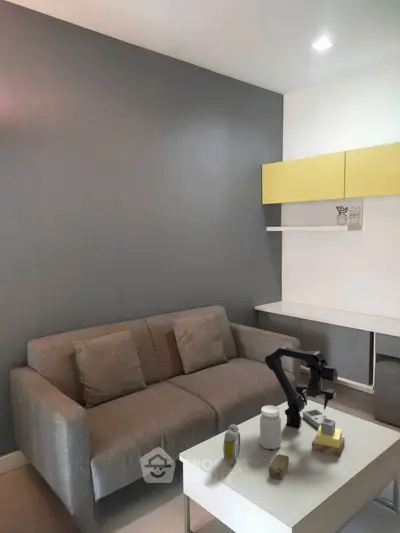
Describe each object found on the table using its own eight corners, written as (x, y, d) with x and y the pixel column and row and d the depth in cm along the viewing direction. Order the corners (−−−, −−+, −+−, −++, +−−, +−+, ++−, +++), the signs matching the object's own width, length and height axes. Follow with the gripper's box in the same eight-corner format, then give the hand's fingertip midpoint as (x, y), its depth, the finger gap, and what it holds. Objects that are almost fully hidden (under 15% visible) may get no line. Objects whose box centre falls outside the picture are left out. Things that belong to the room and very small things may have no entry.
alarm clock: (235, 468, 175) (234, 435, 174) (219, 465, 177) (219, 433, 176) (240, 453, 186) (240, 422, 185) (226, 451, 188) (225, 420, 187)
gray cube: (321, 433, 188) (321, 422, 188) (324, 428, 192) (324, 418, 192) (331, 435, 186) (332, 425, 185) (335, 431, 190) (335, 421, 189)
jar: (284, 443, 194) (284, 407, 192) (275, 453, 186) (275, 415, 184) (266, 437, 200) (265, 402, 198) (256, 446, 192) (256, 410, 190)
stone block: (289, 466, 176) (289, 455, 176) (281, 481, 166) (281, 470, 166) (276, 462, 179) (276, 452, 178) (268, 477, 169) (268, 466, 168)
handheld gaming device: (318, 430, 206) (318, 423, 205) (302, 417, 220) (302, 410, 219) (333, 427, 209) (333, 420, 208) (316, 414, 222) (316, 408, 222)
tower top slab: (316, 443, 187) (316, 434, 187) (320, 432, 196) (320, 425, 196) (338, 448, 183) (338, 439, 182) (341, 437, 192) (341, 429, 191)
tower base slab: (311, 451, 188) (311, 442, 187) (319, 439, 198) (319, 431, 198) (338, 458, 181) (338, 450, 181) (344, 445, 192) (344, 437, 191)
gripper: (291, 379, 199) (291, 409, 200) (330, 386, 189) (330, 418, 190) (299, 372, 208) (299, 401, 210) (336, 378, 198) (336, 408, 200)
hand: (315, 407), depth 202 cm, fingers open, 9 cm apart
